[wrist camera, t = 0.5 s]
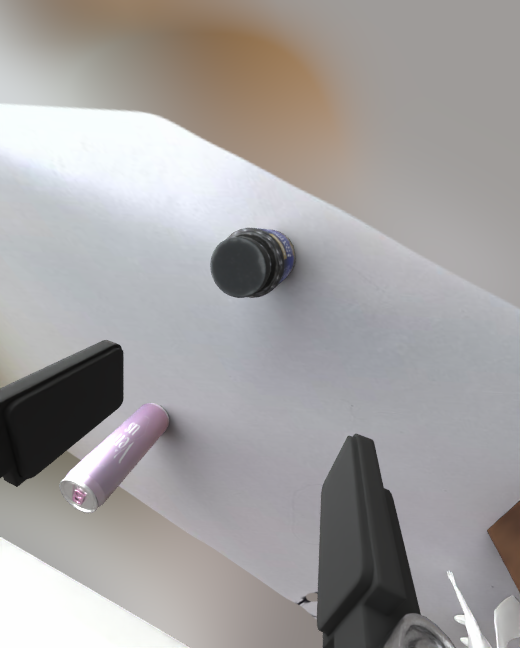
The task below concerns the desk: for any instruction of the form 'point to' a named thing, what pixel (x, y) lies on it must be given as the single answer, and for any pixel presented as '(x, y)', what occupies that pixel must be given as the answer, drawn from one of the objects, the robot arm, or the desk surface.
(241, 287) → the pill bottle
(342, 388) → the desk surface
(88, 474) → the beverage can
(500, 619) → the figurine
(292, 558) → the desk surface
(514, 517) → the shelf
